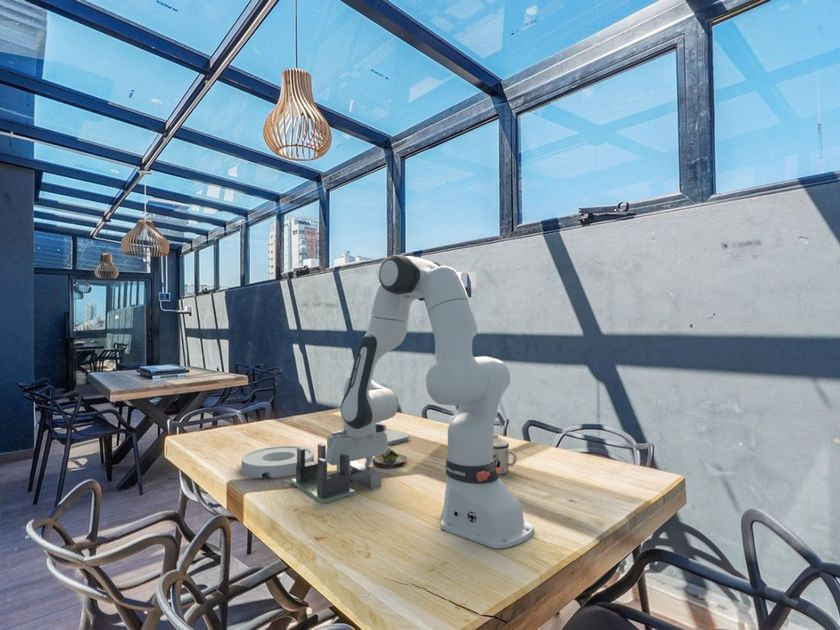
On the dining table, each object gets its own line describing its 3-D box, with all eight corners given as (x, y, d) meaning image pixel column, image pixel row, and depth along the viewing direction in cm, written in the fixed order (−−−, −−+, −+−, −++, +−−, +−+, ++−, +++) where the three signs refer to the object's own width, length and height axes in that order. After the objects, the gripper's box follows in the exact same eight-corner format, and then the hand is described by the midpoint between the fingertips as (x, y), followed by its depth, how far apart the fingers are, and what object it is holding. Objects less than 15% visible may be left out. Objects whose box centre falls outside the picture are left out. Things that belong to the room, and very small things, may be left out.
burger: (402, 470, 140) (402, 447, 140) (367, 467, 142) (367, 445, 143) (410, 459, 152) (410, 438, 152) (378, 457, 154) (378, 436, 154)
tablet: (337, 445, 170) (337, 440, 170) (386, 434, 188) (386, 429, 189) (363, 454, 158) (363, 448, 159) (412, 440, 177) (412, 435, 177)
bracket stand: (354, 494, 119) (354, 456, 119) (321, 503, 112) (322, 463, 113) (321, 475, 134) (322, 441, 135) (291, 482, 128) (291, 447, 128)
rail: (381, 487, 124) (381, 472, 125) (371, 490, 122) (371, 475, 122) (346, 470, 140) (346, 456, 140) (336, 473, 137) (336, 458, 138)
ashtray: (293, 452, 160) (293, 442, 160) (326, 467, 144) (327, 455, 144) (230, 466, 144) (230, 454, 144) (259, 484, 127) (259, 471, 127)
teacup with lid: (475, 471, 138) (475, 434, 138) (489, 464, 145) (489, 429, 146) (510, 479, 131) (509, 440, 131) (522, 471, 138) (522, 435, 138)
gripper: (332, 435, 122) (332, 484, 122) (390, 425, 135) (390, 469, 135) (322, 431, 127) (322, 478, 127) (379, 421, 140) (379, 464, 140)
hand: (357, 473), depth 131 cm, fingers open, 4 cm apart
